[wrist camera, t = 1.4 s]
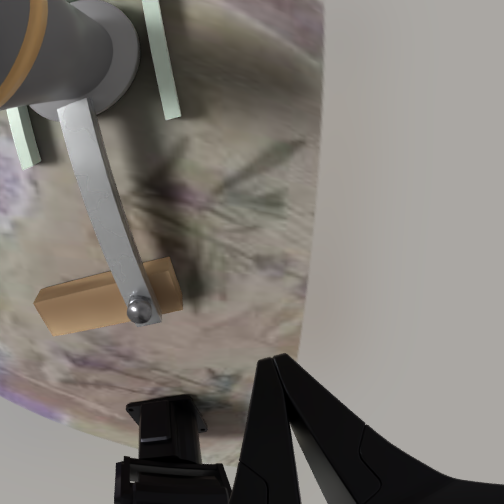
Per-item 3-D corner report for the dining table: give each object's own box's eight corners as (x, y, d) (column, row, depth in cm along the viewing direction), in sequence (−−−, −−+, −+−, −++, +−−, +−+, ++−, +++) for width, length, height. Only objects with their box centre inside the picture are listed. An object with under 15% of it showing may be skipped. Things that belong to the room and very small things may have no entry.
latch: (162, 311, 19) (161, 330, 18) (138, 316, 19) (135, 336, 18) (92, 97, 13) (81, 98, 11) (64, 108, 13) (50, 110, 11)
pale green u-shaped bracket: (181, 115, 16) (181, 116, 15) (31, 165, 15) (22, 170, 14) (152, -36, 11) (151, -43, 10) (3, 26, 11) (-7, 23, 9)
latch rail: (182, 294, 21) (182, 309, 20) (59, 321, 21) (53, 336, 19) (169, 256, 20) (168, 270, 18) (41, 289, 19) (33, 303, 18)
